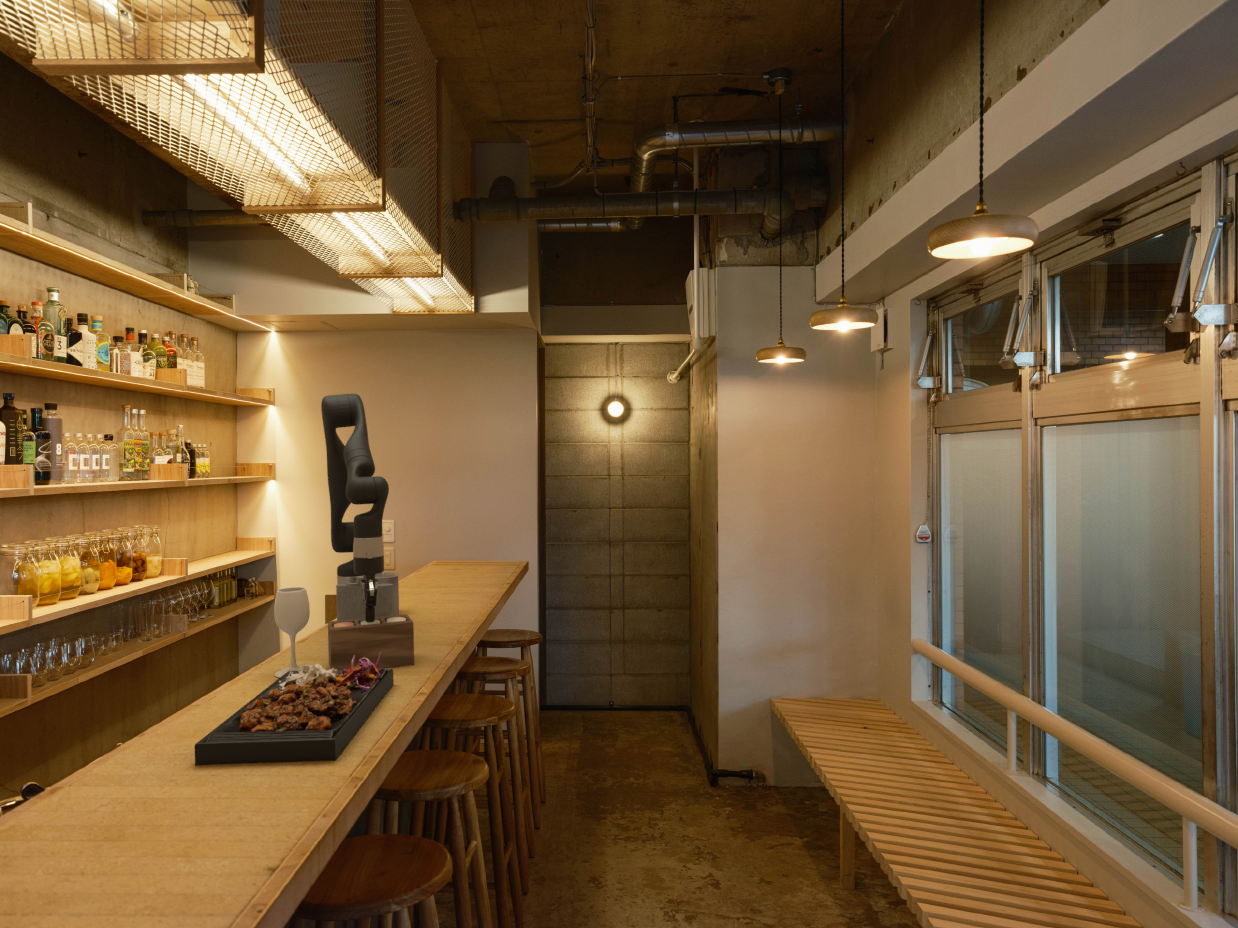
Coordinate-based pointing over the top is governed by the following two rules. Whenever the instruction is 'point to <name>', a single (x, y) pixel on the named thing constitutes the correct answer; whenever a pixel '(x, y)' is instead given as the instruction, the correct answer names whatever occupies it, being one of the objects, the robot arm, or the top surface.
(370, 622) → the pale green egg
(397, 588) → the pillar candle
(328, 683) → the food platter
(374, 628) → the three egg wooden crate
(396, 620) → the pale beige egg
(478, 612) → the top surface
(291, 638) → the white bowl
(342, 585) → the hip flask
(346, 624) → the orange brown egg
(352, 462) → the robot arm
